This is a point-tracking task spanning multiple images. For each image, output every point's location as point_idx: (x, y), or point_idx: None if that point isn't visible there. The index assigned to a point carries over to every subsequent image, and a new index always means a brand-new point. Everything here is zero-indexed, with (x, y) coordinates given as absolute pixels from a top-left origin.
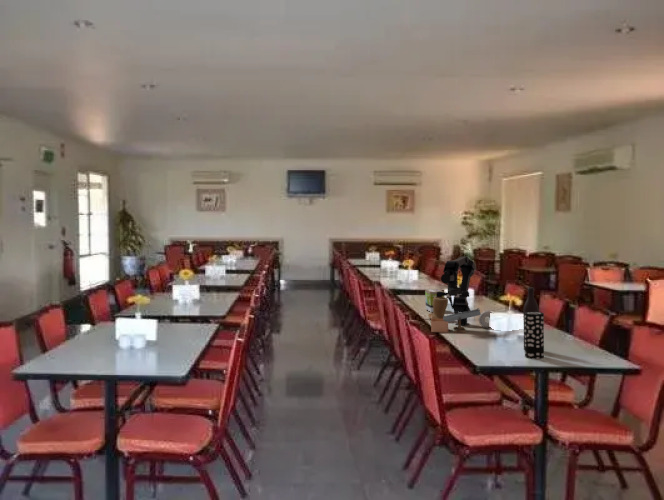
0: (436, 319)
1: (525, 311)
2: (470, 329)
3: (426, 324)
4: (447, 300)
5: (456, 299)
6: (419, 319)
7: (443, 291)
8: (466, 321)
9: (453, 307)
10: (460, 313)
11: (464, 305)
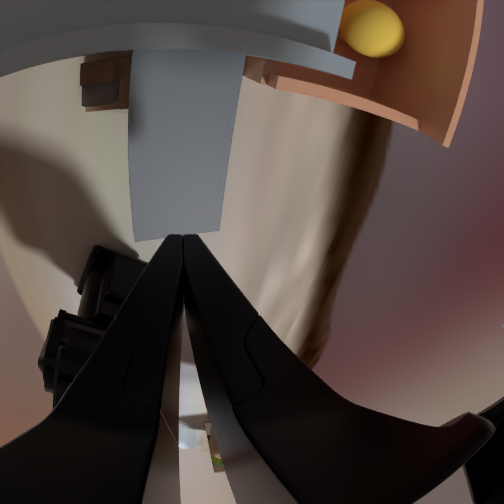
0: (387, 107)
1: None
2: (46, 71)
3: (331, 276)
4: (215, 447)
5: (40, 435)
6: (308, 361)
7: (215, 472)
8: (85, 284)
9: (168, 248)
10: (60, 33)
11: (59, 379)
